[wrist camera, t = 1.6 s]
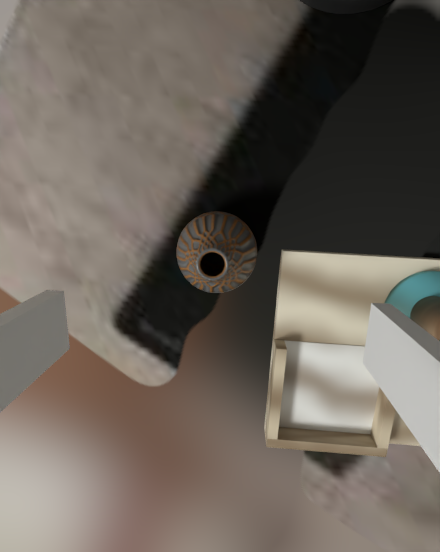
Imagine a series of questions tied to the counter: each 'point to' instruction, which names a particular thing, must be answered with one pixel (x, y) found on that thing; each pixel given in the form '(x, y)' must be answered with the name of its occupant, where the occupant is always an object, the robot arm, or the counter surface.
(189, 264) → the vase
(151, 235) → the counter surface
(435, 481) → the counter surface
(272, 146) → the counter surface
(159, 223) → the counter surface
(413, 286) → the jig board
